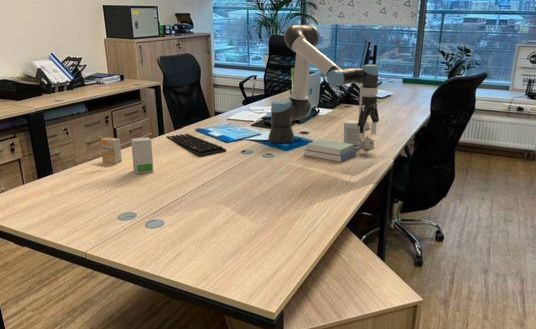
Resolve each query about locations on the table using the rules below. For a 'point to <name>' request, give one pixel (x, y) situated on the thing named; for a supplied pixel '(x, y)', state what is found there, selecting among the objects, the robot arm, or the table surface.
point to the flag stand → (361, 106)
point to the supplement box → (111, 150)
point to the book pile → (330, 150)
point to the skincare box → (142, 155)
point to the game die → (367, 144)
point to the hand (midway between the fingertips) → (367, 136)
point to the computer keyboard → (196, 145)
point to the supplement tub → (352, 133)
